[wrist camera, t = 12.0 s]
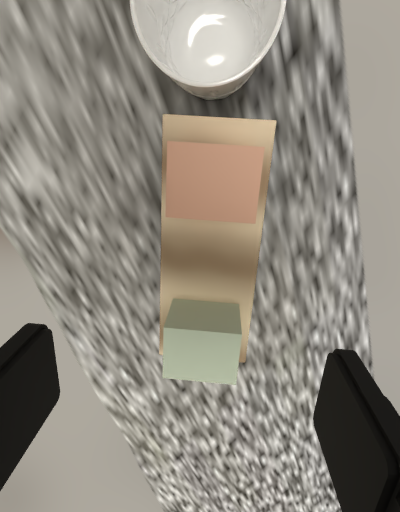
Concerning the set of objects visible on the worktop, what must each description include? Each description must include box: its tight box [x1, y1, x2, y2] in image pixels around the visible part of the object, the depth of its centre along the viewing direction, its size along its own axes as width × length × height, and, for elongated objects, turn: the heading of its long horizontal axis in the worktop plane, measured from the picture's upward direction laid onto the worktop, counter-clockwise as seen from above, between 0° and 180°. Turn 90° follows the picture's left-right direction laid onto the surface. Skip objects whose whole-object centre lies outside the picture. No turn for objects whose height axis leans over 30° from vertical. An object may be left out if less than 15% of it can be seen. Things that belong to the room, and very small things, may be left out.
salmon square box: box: [166, 141, 265, 224], centre depth 18 cm, size 4×5×4 cm
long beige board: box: [159, 114, 276, 362], centre depth 24 cm, size 18×7×5 cm, turn 177°
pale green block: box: [163, 298, 242, 385], centre depth 22 cm, size 4×5×4 cm
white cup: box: [130, 0, 286, 100], centre depth 20 cm, size 8×8×10 cm
